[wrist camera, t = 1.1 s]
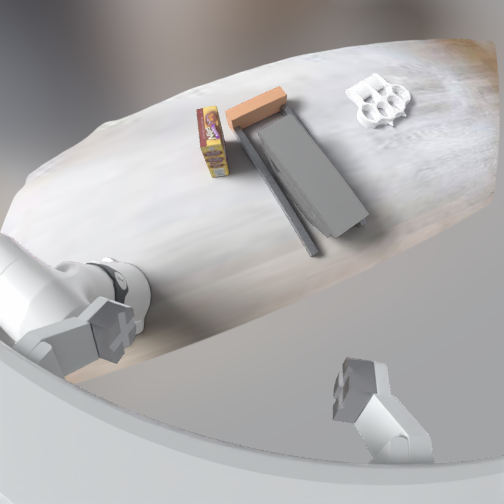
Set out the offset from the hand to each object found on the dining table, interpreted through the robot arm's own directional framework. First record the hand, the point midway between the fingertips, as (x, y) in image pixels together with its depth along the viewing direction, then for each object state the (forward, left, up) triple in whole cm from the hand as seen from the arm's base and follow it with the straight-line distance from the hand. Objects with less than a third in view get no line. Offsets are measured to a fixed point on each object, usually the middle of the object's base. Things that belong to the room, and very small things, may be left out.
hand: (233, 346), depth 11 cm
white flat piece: (+50, +27, -54) cm, 79 cm away
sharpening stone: (+20, +16, -54) cm, 60 cm away
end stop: (+20, +37, -54) cm, 68 cm away
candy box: (+7, +32, -54) cm, 63 cm away
